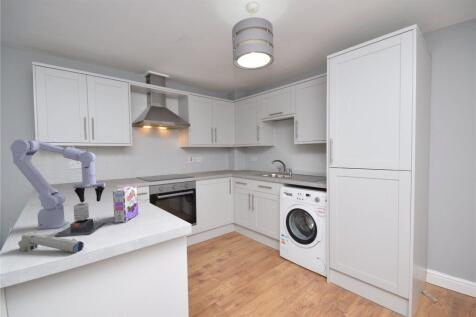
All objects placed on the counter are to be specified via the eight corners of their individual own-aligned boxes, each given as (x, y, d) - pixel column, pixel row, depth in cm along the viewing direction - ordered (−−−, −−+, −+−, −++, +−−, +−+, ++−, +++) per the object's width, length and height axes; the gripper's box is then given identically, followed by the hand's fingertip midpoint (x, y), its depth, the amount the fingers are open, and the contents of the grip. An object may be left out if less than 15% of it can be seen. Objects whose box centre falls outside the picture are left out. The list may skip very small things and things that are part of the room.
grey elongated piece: (72, 244, 75) (14, 232, 79) (71, 263, 75) (13, 249, 79) (85, 238, 80) (30, 227, 84) (84, 255, 80) (29, 243, 84)
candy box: (125, 222, 108) (123, 190, 107) (114, 223, 108) (112, 190, 107) (138, 214, 121) (137, 185, 121) (128, 214, 122) (127, 185, 121)
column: (74, 220, 97) (73, 205, 97) (79, 217, 101) (78, 203, 101) (84, 220, 98) (83, 205, 97) (89, 217, 102) (88, 203, 101)
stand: (55, 237, 92) (54, 227, 92) (75, 225, 106) (74, 217, 105) (90, 234, 94) (90, 225, 94) (105, 223, 108) (105, 215, 107)
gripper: (68, 177, 105) (70, 204, 106) (100, 175, 107) (102, 202, 108) (76, 175, 112) (78, 201, 113) (106, 174, 114) (108, 199, 115)
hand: (90, 201), depth 111 cm, fingers open, 7 cm apart
